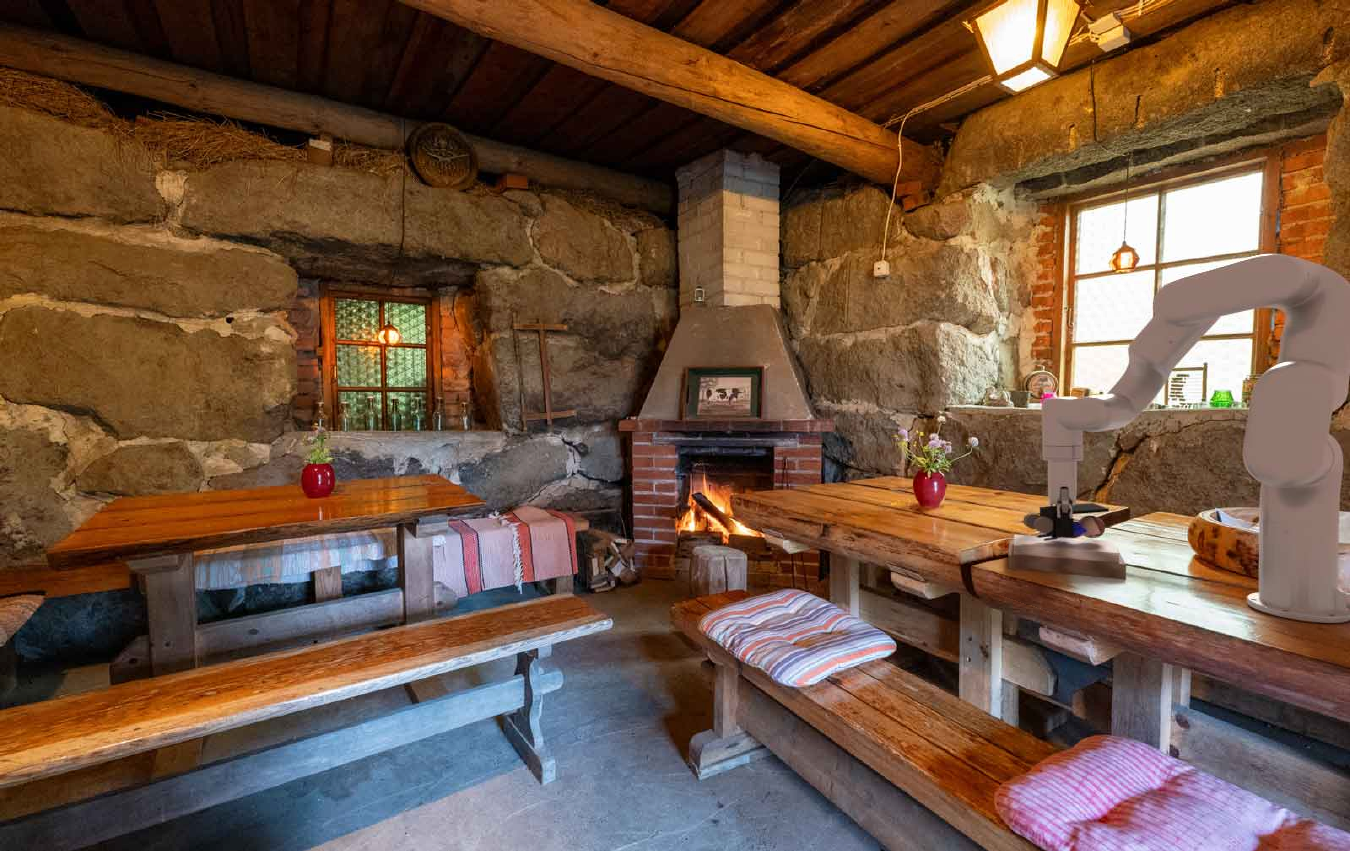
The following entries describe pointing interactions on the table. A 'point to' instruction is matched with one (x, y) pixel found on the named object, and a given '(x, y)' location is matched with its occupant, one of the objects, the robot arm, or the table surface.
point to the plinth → (1067, 565)
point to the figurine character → (1085, 526)
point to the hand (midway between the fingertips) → (1063, 531)
